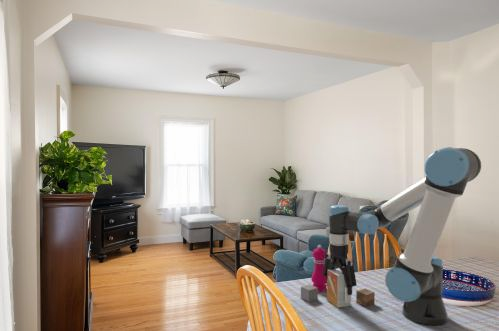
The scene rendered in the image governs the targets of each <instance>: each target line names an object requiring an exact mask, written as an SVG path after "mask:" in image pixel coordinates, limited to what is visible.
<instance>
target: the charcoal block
mask: <svg viewBox="0 0 499 331" xmlns="http://www.w3.org/2000/svg"><path fill="white" fill-rule="evenodd" d="M300 299H302V300H304V301H306V302H307V303H310V302H315V301H317V300H318V299H319V291H318V288H317V287H315V286H313V284H307V285H302V286H300Z"/></svg>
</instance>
